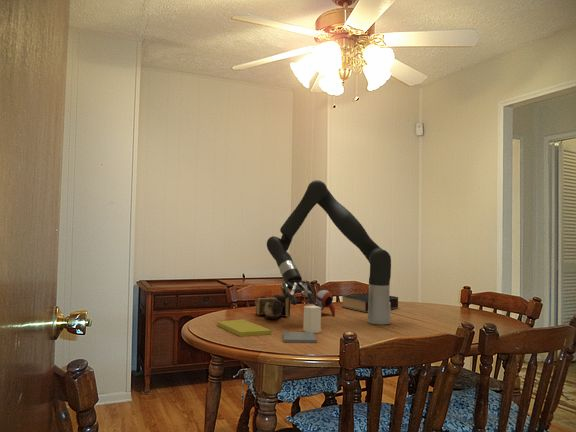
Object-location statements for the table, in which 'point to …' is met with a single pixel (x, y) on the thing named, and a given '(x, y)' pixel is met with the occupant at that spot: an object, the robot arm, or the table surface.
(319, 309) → the cream block
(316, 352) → the table surface
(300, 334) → the slate pad
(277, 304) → the bookend
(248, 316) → the table surface
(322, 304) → the toy
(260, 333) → the flat olive board
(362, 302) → the book
